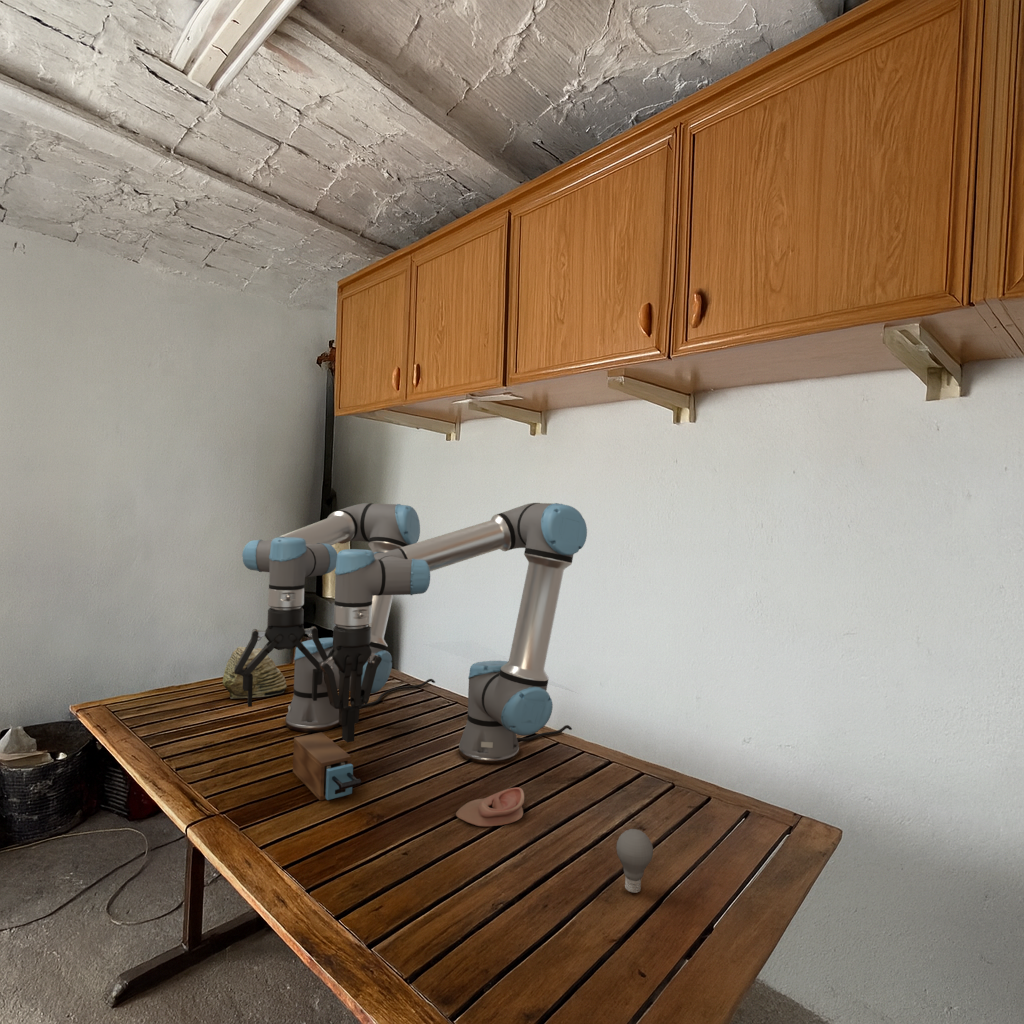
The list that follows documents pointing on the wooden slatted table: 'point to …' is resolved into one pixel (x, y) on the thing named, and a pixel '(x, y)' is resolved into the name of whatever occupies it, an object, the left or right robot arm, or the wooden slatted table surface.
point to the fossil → (254, 677)
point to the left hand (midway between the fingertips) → (282, 702)
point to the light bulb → (634, 857)
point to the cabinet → (316, 760)
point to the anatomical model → (494, 808)
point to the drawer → (339, 780)
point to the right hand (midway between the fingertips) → (348, 739)
